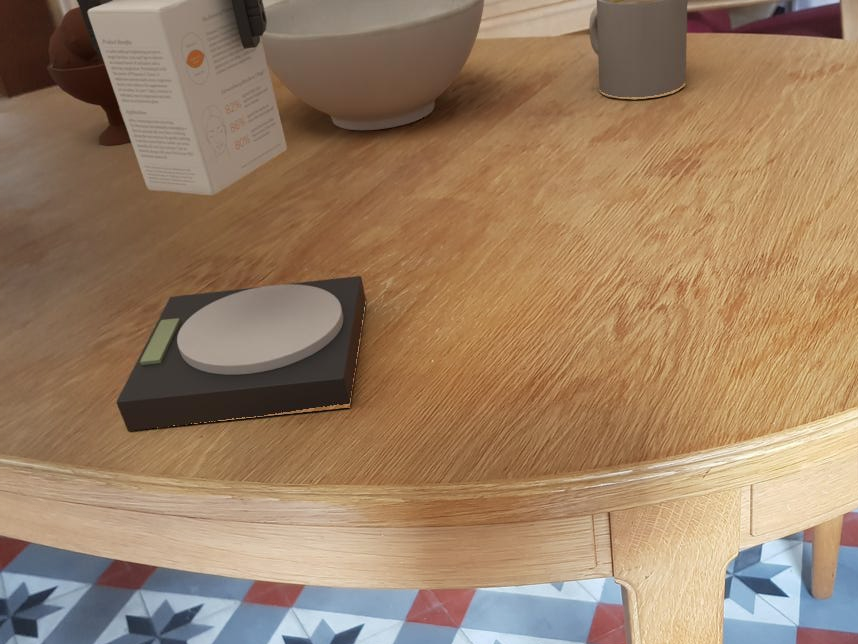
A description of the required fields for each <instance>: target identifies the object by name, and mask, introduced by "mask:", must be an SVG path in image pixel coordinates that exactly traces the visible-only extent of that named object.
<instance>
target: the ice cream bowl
mask: <svg viewBox="0 0 858 644" xmlns="http://www.w3.org/2000/svg"><path fill="white" fill-rule="evenodd" d="M47 50H48V56H49V60H50V62H49V64H48V65H47V67H46V70H47V71H48V74H49V75H50V77H51V78H52V80H53V82H54V83H55V84H56V86H58V87H59V88H60V89H61V91H63V92H65V94H67V95H69V96H71V97H72V98H74V99H76V100H79V101H81V102H83V103H86V104H89V105H94V106H100V107H101V108H102V110H103V111H104V113H105V114H106V118H107V121H108V126H107V127H106V128H105V129H104V130H103V131H102V132H101V134H100V135H99V138H98V144H100V145H104V146H119V145H123V144H127V143H130V142H131V140H130V137H129V134H128V131H127V128H126V125H125V122H124V119H123V116H122V113H121V110H120V107H119V104H118V101H117V98H116V95H115V93H114V90H113V87H112V84H111V81H110V78H109V75H108V72H107V69H106V66H105V63H104V60H103V57H102V56H99V55H98V54H97V52H96V51H95V50H94V48H93V46H92V43H91V40H90V36H89V34H88V31H87V28H86V25H85V22H84V19H83V16H82V13H81V10H80V7H79V6H77V7H74V8H71V9H69V10H68V11H67V12H66V13H65V14H64V16H63V18H62V20H61V23H60V24H59V26H58V27H56V29H55V30H54V31H53V33H52V34H51V36H50V37H49V44H48V49H47Z"/></svg>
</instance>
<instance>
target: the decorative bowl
mask: <svg viewBox="0 0 858 644" xmlns="http://www.w3.org/2000/svg"><path fill="white" fill-rule="evenodd" d="M484 7H485V0H280V1H277V2H274V3H272V4H269V5H267V6H264V10H265V14H266V19H267V24H266V30H265V32H264V33H263V35H262V36H261V40H262V44H263V48H264V53H265V57H266V61H267V65H268V69H269V70H271V72H272V73H273V74H274V75H275V77H276V78H277V79H278V80H279V81H280V82H281V83H282V85H283V86H285V87H286V89H287V90H288V91H290V93H292V94H293V95H294V96H296V98H298V99H299V100H300V101H302V102H303V103H305V104H306V105H308V106H310V107H311V108H313V109H315V110H317V111H319V112H322V113H324V114H326V115H329V116H330V118H331V121H332V123H333V125H335V126H336V127H338V128H341V129H343V130H344V129H345V130H349V131H377V130H386V129H392V128H397V127H401V126H404V125H408V124H411V123H414V122H417V121H419V120H421V119H423V117H424V118H426V117H427V116H428V115H430V114H431V113H432V112H433V111H434V109H435V100H436V99H438V97H439V96H441V95H442V94H444V92H445V91H446V90H447V89H448V88H449V87H450V86H451V85H452V84H453V83H454V82H455V80H456V79H457V78H458V77H459V75H460V73H461V72H462V71H463V68H464V67H465V65H466V63H467V61H468V59H469V57H470V55H471V53H472V50H473V48H474V46H475V43H476V40H477V38H478V35H479V30H480V27H481V23H482V18H483V13H484Z"/></svg>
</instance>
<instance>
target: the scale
mask: <svg viewBox="0 0 858 644" xmlns="http://www.w3.org/2000/svg"><path fill="white" fill-rule="evenodd" d="M364 287H365V286H364V282H363V278H362V275H356V276H347V277H346V276H345V277H337V278H330V279H319V280H310V281H302V282H300V281H299V282H293V283H283V284H271V285H266V286H265V285H264V286H257V287H248V288H247V287H246V288H237V289H230V290H219V291H212V292H210V291H209V292H203V293H193V294H184V295H183V294H182V295H175V296H170V297H169V298H168V300H167V303H166V304H165V306H164V308H163V310H162V312H161V314H160V316H159V318H158V320H157V322H156V324H155V326H154V327H153V330H152V332H151V333H150V335H149V337H148V339H147V341H146V342H145V345H144V347H143V349H142V351H141V353H140V354H139V357H138V359H137V360H136V362H135V365H134V366H133V368H132V370H131V372H130V375H129V376H128V378H127V380H126V382H125V384H124V386H123V388H122V389H121V391H120V393H119V396H118V397H117V400H116V402H115V403H116V405H117V408H118V410H119V412H120V415H121V418H122V420H123V423H124V425H125V427H126V430H127V432H136V431H135V430H138V431H146V430H145V429H148V430H153V429H152V428H157V427H158V429H161V428H160V427H167V428H169V427H168V426H173V425H175V426H177V427H179V426H178V425H186V424H191V423H192V424H194V423H200V422H201V423H204V422H209V421H210V422H211V421H218V420H226V419H232V418H234V419H236V418H242V417H245V418H246V417H254V416H256V417H257V416H264V415H268V414H275V413H277V414H278V413H281V412H282V413H283V412H291V411H296V410H303V409H309V408H316V407H323V406H325V407H327V406H330V405H332V406H333V405H337V404H339V405H343V404H349V403H350V398H351V391H352V385H353V378H354V373H355V368H356V359H357V352H358V346H359V339H360V333H361V327H362V320H363V314H364V307H365V301H366V302H367V297H366V293H365V289H364ZM186 426H187V425H186ZM150 428H151V429H150ZM142 429H143V430H142Z"/></svg>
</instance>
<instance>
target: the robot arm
mask: <svg viewBox="0 0 858 644" xmlns="http://www.w3.org/2000/svg"><path fill="white" fill-rule="evenodd" d="M111 1H113V0H76V2H77V4H78V7H80V10H81V13H82V16H83V19H84V22H85V25H86V28H87V31H88V34H89V36H90V40H91V43H92V46H93V48H94V50H95V51H96V52H97V54H98V55H99V56H102V54H101V51H100V48H99V45H98V43H97V40H96V37H95V34H94V31H93V28H92V25H91V22H90V19H89V16H88V10H89V9H91V8H94V7H97V6H100V5H102V4H105V3H108V2H111ZM231 1H232V5H233V9H234V13H235V17H236V21H237V26H238V30H239V34H240V38H241V42H242V45H243V48H244V49H247V48H255V47H257V46H258V44H259V42H260V36H262V35H263V33H264V32H265V30H266V24H267V19H266V14H265V10H264V8H265V6H264V3H263V2H264V1H263V0H231Z"/></svg>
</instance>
